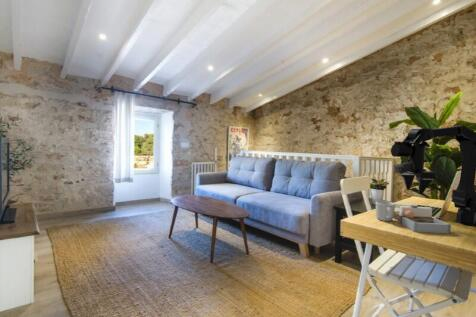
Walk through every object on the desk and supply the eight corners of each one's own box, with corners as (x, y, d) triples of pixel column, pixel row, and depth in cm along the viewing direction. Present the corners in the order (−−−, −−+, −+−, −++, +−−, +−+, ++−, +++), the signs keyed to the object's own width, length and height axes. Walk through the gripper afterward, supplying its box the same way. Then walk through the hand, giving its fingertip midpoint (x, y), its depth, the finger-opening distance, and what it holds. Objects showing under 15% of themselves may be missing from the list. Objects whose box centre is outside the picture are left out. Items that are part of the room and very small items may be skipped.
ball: (410, 217, 115) (411, 209, 115) (415, 219, 112) (416, 211, 112) (402, 216, 116) (403, 209, 115) (407, 219, 112) (408, 211, 112)
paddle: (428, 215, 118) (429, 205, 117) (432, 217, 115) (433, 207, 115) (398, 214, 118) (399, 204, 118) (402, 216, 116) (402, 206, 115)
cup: (399, 225, 112) (401, 207, 111) (379, 223, 113) (381, 205, 113) (390, 218, 122) (391, 201, 121) (372, 216, 124) (373, 200, 123)
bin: (435, 226, 112) (435, 218, 111) (450, 233, 103) (451, 224, 103) (401, 224, 112) (402, 216, 112) (413, 231, 104) (414, 223, 104)
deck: (419, 217, 125) (419, 211, 124) (438, 226, 112) (439, 220, 111) (389, 216, 125) (389, 210, 125) (405, 224, 112) (405, 218, 112)
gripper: (387, 155, 124) (385, 187, 125) (409, 158, 105) (407, 196, 107) (411, 155, 123) (409, 188, 124) (438, 158, 105) (435, 197, 106)
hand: (414, 192), depth 115 cm, fingers open, 9 cm apart
